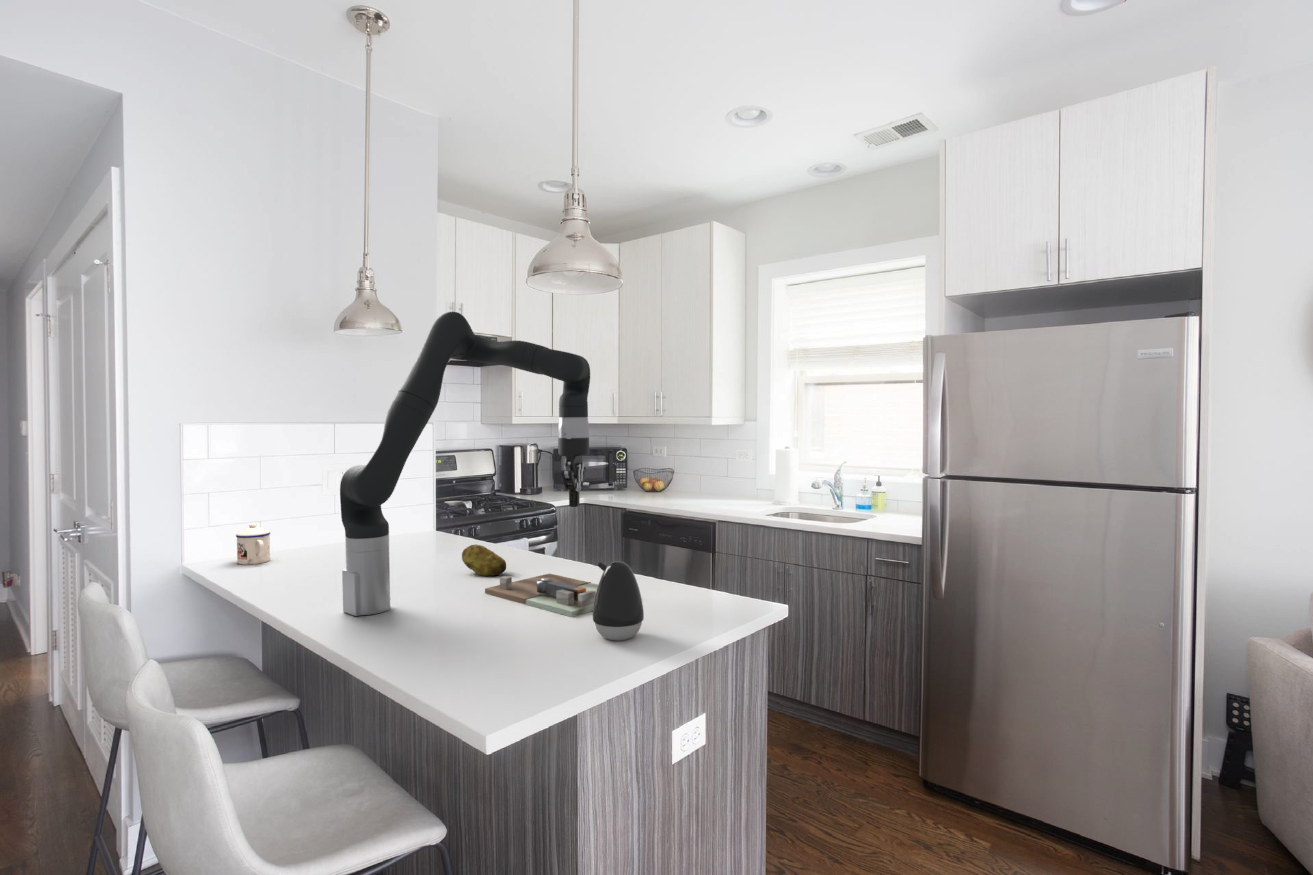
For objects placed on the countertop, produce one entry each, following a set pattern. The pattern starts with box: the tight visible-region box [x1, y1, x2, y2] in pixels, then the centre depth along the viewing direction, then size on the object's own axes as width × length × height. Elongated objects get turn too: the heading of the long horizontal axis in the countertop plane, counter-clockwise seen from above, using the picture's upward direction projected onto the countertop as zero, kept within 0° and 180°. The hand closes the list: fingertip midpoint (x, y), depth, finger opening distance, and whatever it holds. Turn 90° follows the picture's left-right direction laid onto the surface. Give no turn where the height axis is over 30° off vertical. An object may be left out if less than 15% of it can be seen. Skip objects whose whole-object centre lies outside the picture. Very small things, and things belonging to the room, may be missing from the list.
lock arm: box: [537, 578, 586, 601], centre depth 163 cm, size 4×15×3 cm, turn 49°
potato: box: [461, 544, 507, 577], centre depth 193 cm, size 8×13×8 cm, turn 51°
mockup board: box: [484, 572, 599, 618], centre depth 170 cm, size 21×32×4 cm, turn 49°
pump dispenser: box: [592, 560, 645, 642], centre depth 138 cm, size 10×10×15 cm
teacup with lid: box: [235, 523, 271, 566], centre depth 210 cm, size 12×9×12 cm
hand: (574, 506), depth 169 cm, fingers closed
